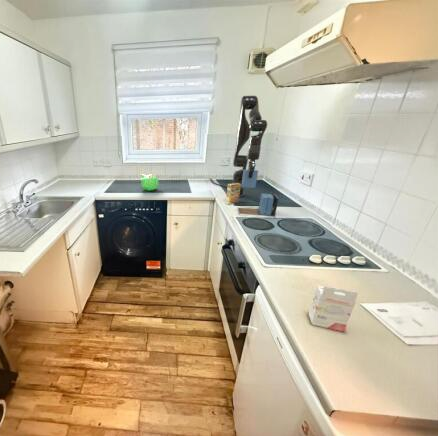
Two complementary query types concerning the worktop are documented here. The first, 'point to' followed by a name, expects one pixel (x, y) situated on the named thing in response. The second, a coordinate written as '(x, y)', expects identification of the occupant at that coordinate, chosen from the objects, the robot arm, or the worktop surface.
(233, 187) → the candy box
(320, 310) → the ink cartridge box
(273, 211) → the book rack
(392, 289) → the worktop surface
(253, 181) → the blue book
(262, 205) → the shelved book
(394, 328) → the worktop surface
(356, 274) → the worktop surface
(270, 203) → the shelved book
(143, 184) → the green rounded lump
